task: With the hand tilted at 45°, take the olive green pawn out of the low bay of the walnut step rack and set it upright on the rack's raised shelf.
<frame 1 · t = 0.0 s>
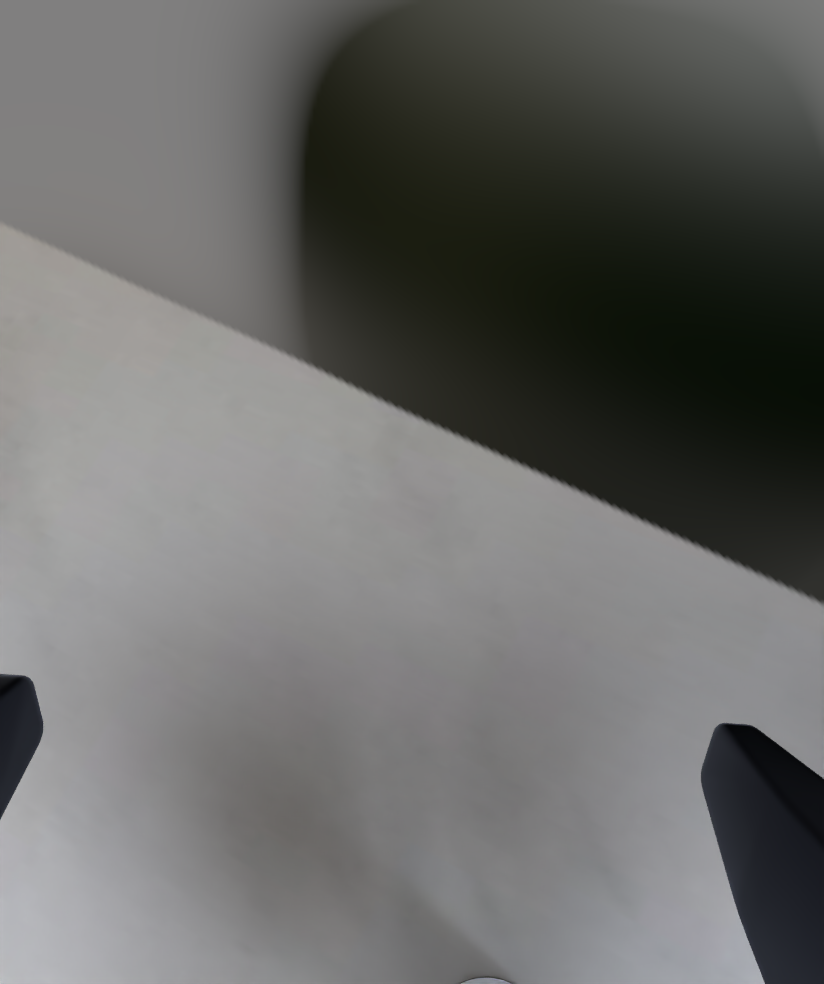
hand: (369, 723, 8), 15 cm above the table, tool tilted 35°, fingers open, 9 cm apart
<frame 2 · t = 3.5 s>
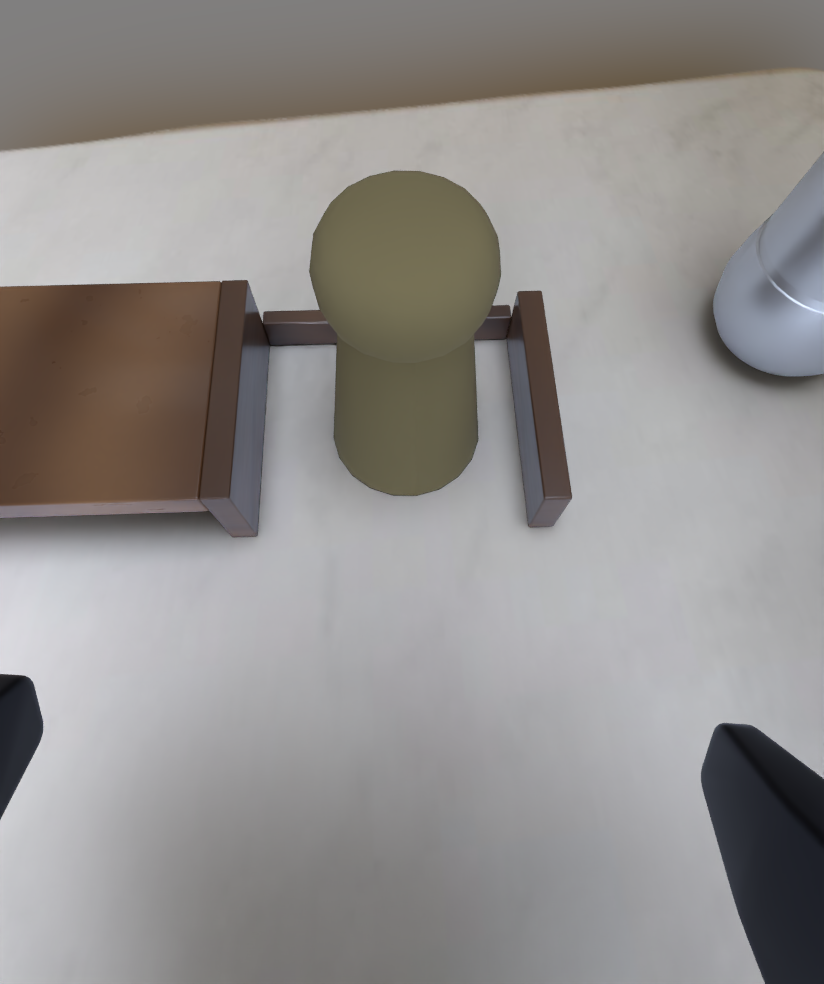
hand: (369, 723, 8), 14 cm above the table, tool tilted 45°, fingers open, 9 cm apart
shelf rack: (252, 433, 25), on the table
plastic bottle: (767, 337, 27), on the table
olive green pawn: (406, 431, 25), on the table
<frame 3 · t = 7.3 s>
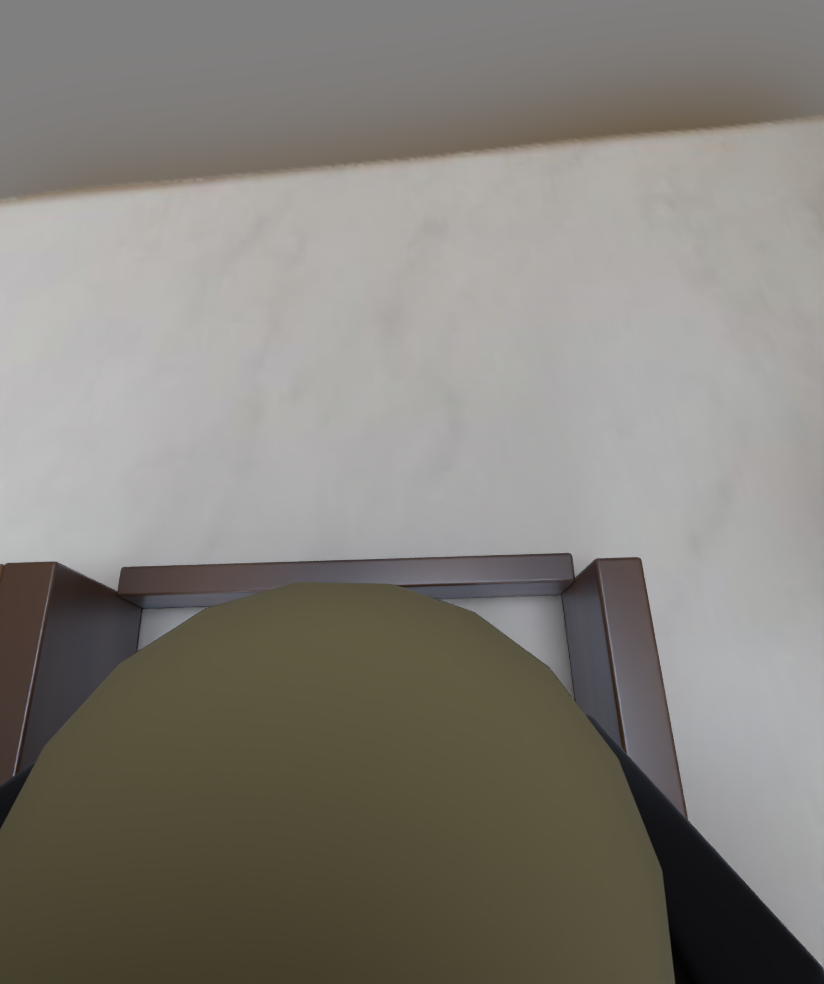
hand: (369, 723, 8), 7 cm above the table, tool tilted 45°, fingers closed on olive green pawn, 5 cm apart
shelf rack: (94, 804, 13), on the table
olive green pawn: (381, 792, 14), on the table, touching gripper
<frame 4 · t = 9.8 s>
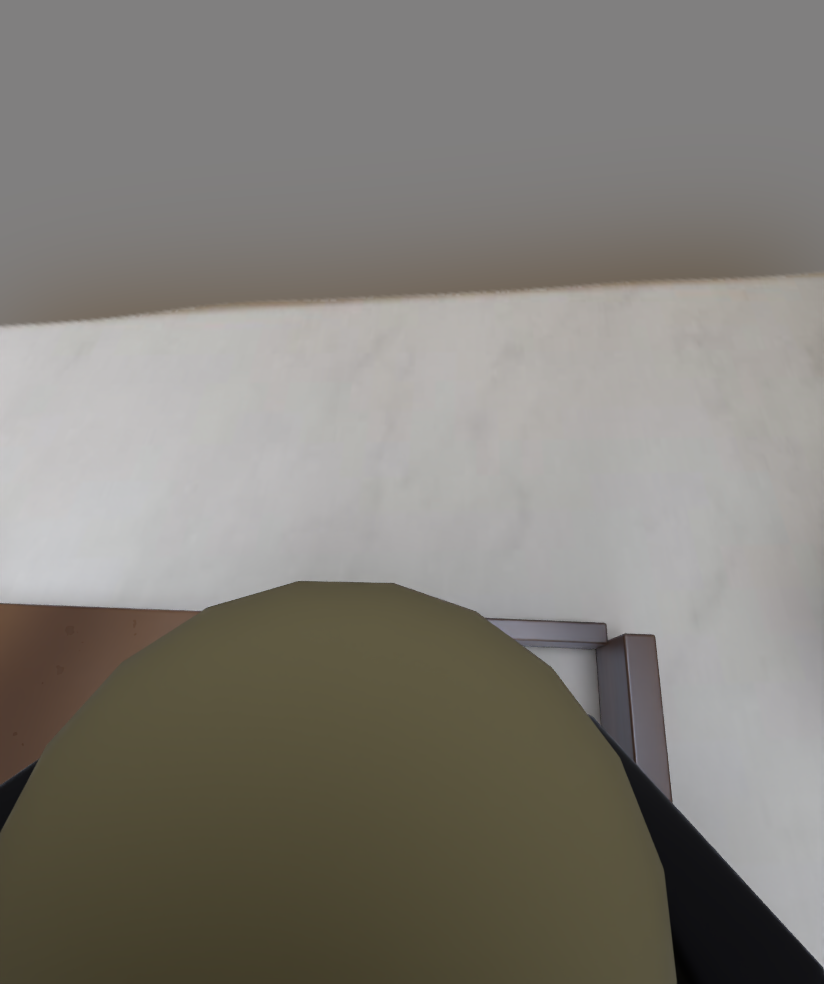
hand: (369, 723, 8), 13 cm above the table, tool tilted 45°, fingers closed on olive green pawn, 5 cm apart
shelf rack: (268, 771, 20), on the table
olive green pawn: (381, 792, 14), point 6 cm above the table, touching gripper
when the fingers open (11 cm above the table, at t = 12.8 s): olive green pawn stays where it is, resting on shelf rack.
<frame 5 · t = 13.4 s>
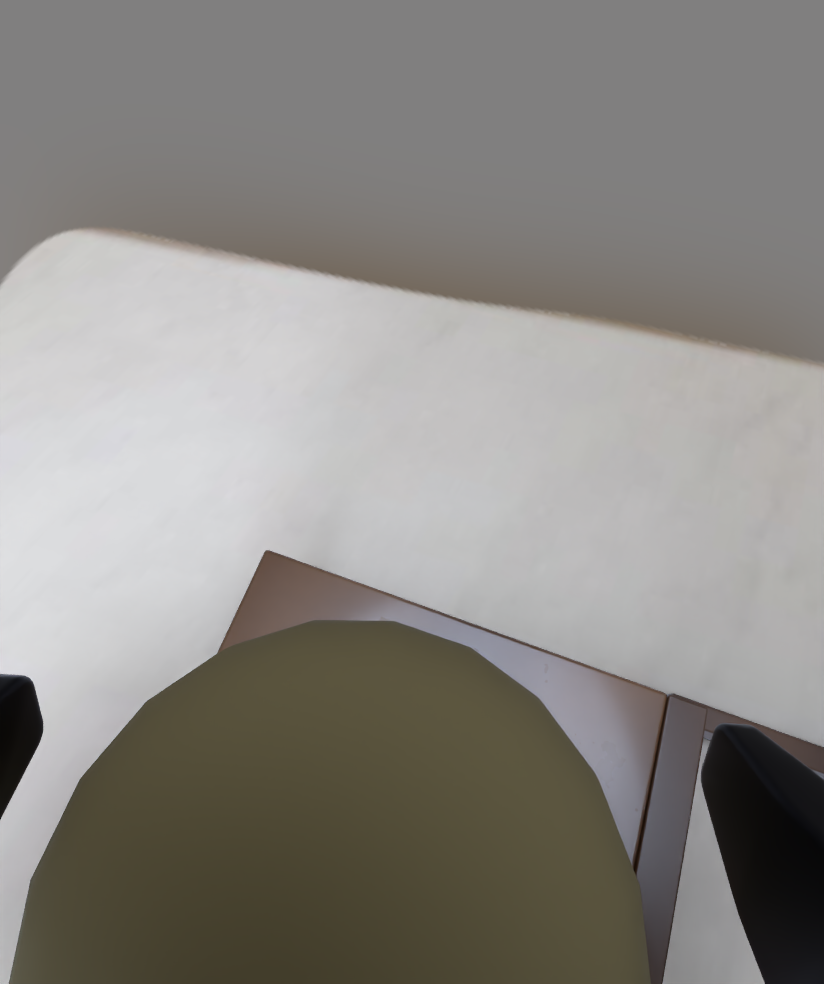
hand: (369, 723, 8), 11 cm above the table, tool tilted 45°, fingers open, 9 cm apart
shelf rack: (599, 866, 17), on the table
olive green pawn: (383, 801, 14), point 4 cm above the table, touching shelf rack
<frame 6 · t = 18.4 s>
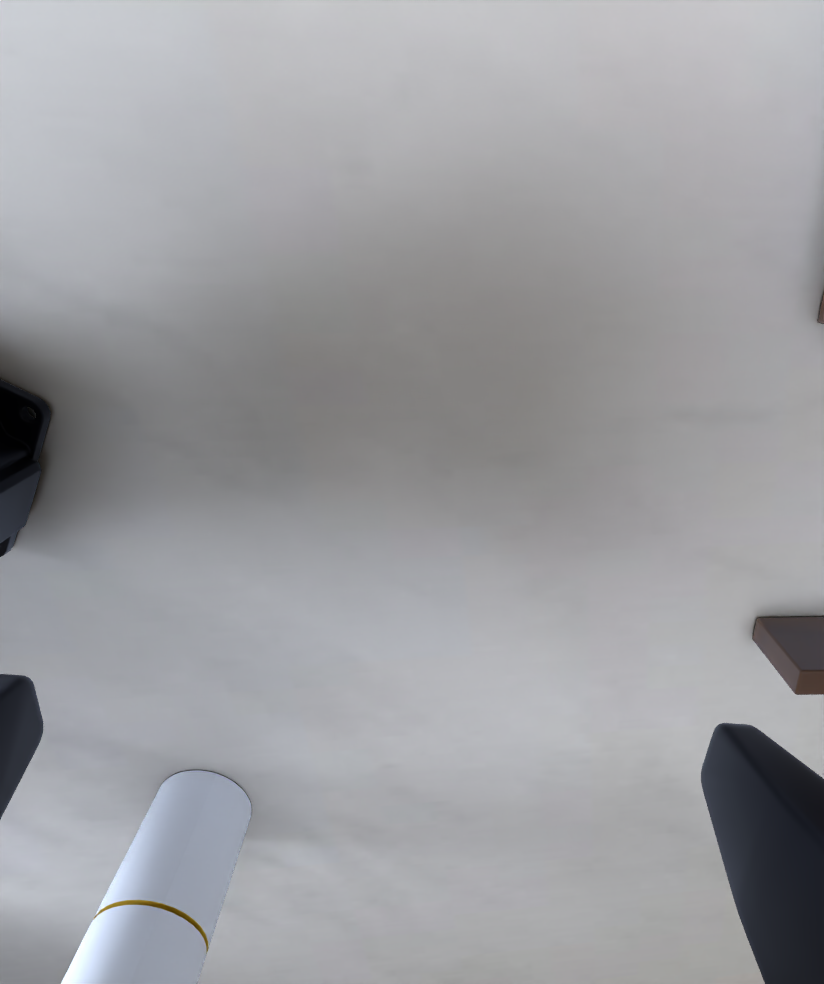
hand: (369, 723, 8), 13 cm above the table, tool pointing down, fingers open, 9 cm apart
tube: (206, 801, 27), on the table
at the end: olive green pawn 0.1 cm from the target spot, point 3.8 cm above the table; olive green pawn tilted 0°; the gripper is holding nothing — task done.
